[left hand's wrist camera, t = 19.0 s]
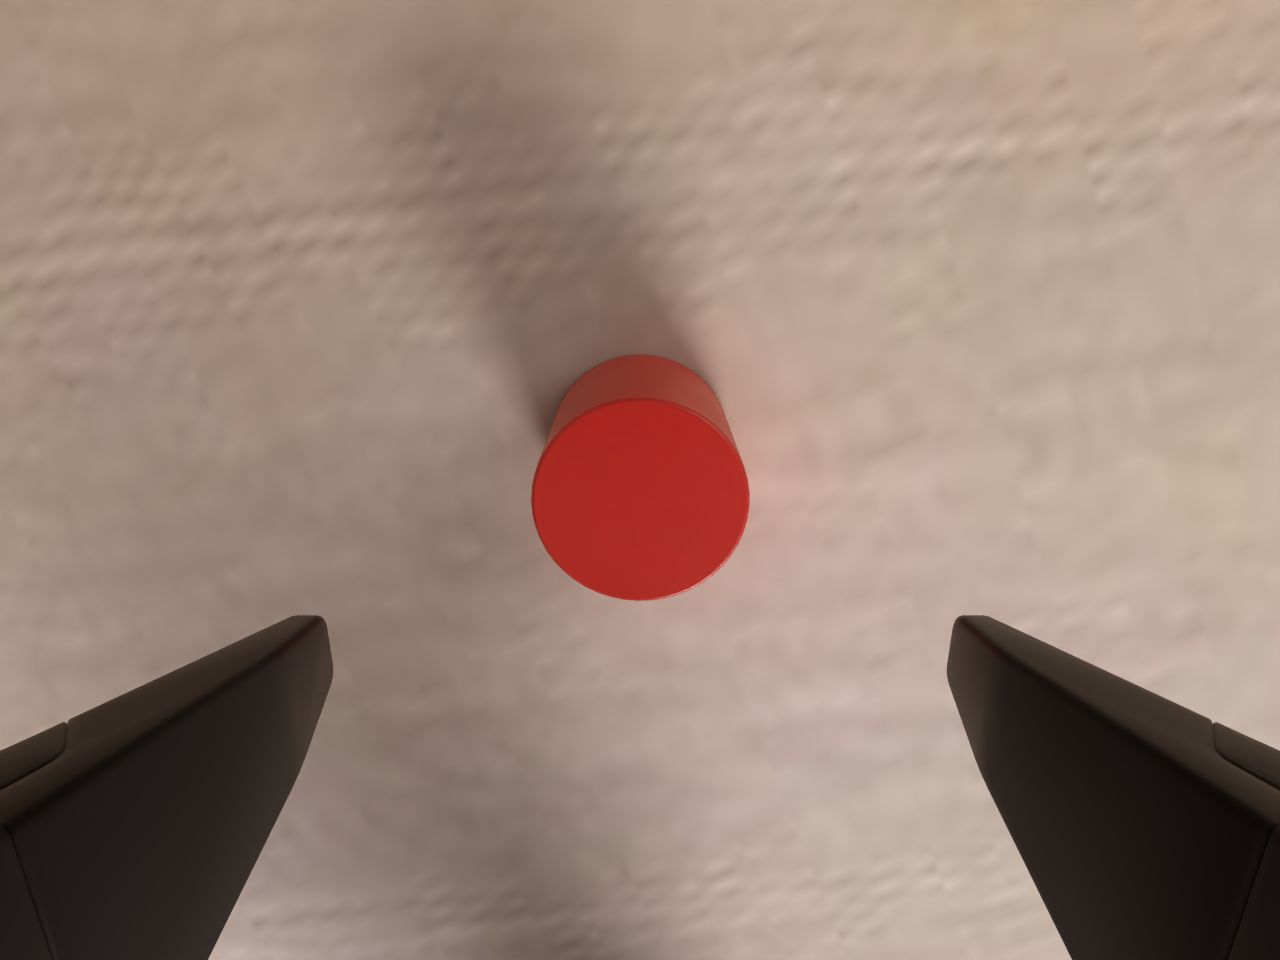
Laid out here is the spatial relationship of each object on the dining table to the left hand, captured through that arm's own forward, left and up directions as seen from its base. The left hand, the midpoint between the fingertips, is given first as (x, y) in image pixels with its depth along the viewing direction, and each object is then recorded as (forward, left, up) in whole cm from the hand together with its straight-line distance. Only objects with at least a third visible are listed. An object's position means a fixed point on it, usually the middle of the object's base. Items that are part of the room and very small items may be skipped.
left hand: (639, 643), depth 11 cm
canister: (0, 0, -10) cm, 10 cm away
